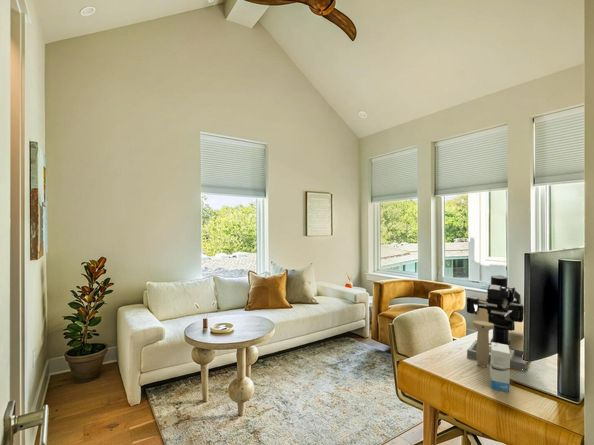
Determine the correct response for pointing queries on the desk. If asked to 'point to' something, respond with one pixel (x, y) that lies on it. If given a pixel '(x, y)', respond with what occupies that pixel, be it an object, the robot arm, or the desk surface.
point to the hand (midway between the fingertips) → (489, 315)
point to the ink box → (500, 367)
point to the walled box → (515, 356)
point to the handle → (482, 342)
